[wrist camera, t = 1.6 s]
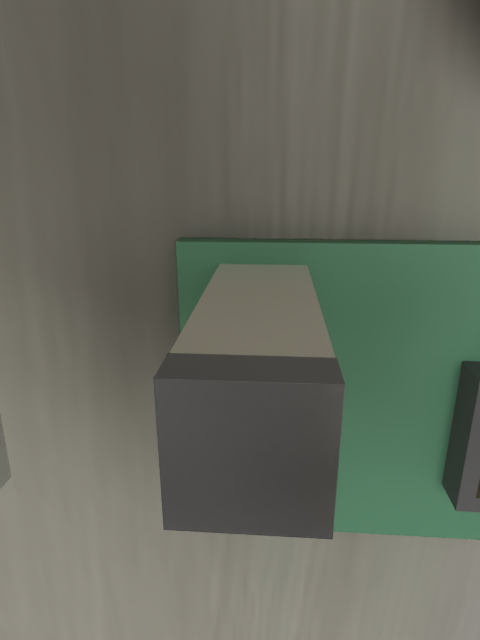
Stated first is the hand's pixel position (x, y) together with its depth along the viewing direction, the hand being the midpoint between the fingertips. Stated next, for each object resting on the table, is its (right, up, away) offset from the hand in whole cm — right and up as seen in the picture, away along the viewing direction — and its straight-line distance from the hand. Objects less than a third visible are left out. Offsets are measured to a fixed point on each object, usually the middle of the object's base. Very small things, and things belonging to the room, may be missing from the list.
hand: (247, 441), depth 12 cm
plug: (+1, +4, +10) cm, 11 cm away
